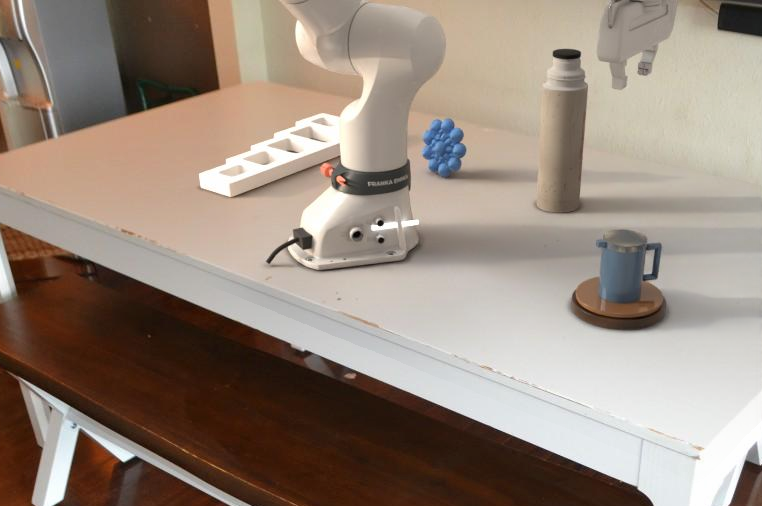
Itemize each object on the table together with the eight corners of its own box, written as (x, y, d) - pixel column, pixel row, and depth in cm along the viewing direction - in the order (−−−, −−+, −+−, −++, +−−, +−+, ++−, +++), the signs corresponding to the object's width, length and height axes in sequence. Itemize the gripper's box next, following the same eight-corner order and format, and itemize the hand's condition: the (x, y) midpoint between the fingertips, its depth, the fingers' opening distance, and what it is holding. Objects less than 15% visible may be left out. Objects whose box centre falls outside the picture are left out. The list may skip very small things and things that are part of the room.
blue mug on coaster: (593, 322, 141) (598, 260, 136) (563, 283, 152) (567, 224, 147) (677, 312, 144) (686, 251, 138) (642, 275, 154) (649, 217, 149)
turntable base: (606, 338, 141) (607, 328, 140) (553, 299, 151) (554, 290, 150) (684, 317, 146) (685, 308, 145) (627, 281, 157) (628, 272, 156)
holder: (231, 197, 188) (229, 183, 187) (169, 177, 197) (167, 164, 196) (382, 139, 218) (382, 127, 217) (323, 124, 228) (322, 113, 226)
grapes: (479, 178, 197) (480, 118, 190) (456, 186, 193) (456, 126, 186) (438, 164, 204) (438, 106, 197) (414, 172, 200) (414, 113, 193)
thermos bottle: (580, 198, 187) (592, 46, 172) (577, 214, 180) (588, 57, 165) (539, 196, 188) (546, 44, 173) (534, 211, 182) (541, 55, 167)
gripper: (632, -4, 132) (622, 100, 139) (688, -26, 146) (676, 69, 154) (589, -8, 135) (582, 94, 142) (648, -29, 149) (639, 64, 157)
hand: (631, 81), depth 148 cm, fingers open, 8 cm apart
